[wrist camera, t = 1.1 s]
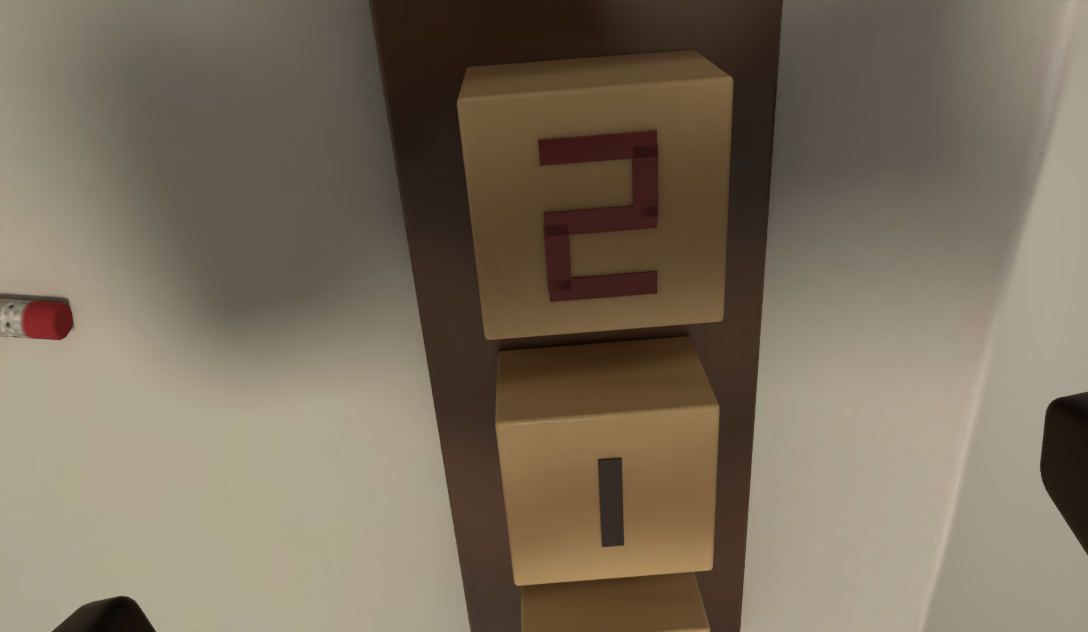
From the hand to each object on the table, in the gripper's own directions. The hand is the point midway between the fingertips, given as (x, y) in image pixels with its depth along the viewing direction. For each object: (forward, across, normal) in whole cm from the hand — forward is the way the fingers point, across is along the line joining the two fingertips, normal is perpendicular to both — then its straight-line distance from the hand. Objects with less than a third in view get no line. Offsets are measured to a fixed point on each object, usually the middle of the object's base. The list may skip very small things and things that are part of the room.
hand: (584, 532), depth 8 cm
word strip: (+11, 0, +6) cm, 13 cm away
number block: (+10, -1, 0) cm, 10 cm away
